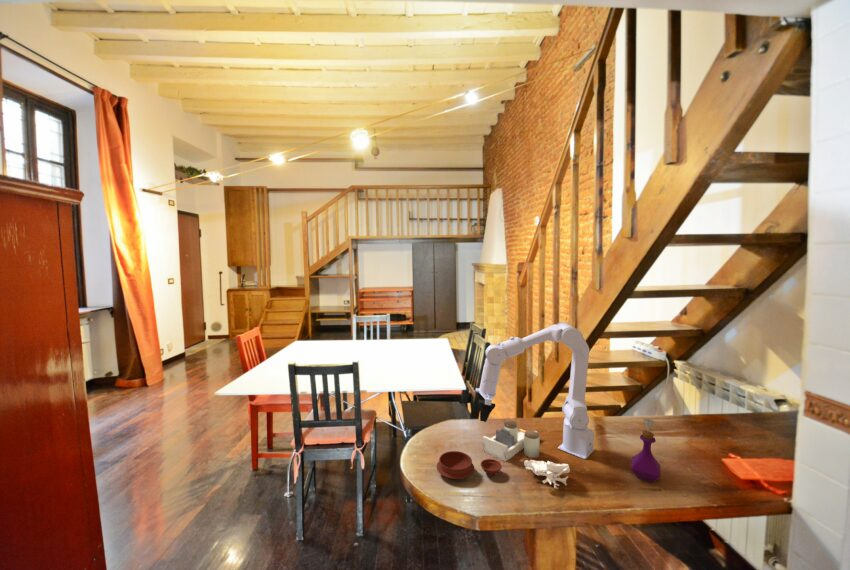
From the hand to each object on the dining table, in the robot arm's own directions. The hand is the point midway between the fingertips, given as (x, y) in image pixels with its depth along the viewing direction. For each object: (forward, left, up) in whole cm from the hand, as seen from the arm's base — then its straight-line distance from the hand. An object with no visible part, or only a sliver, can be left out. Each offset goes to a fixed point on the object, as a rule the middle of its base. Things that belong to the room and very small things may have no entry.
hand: (482, 416), depth 129 cm
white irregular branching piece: (-26, +2, -11) cm, 28 cm away
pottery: (-7, +17, -11) cm, 21 cm away
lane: (-7, -7, -11) cm, 15 cm away
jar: (-15, -7, -11) cm, 20 cm away
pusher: (-7, -3, -9) cm, 12 cm away
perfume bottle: (-46, -20, -11) cm, 52 cm away
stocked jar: (-7, -7, -10) cm, 14 cm away
